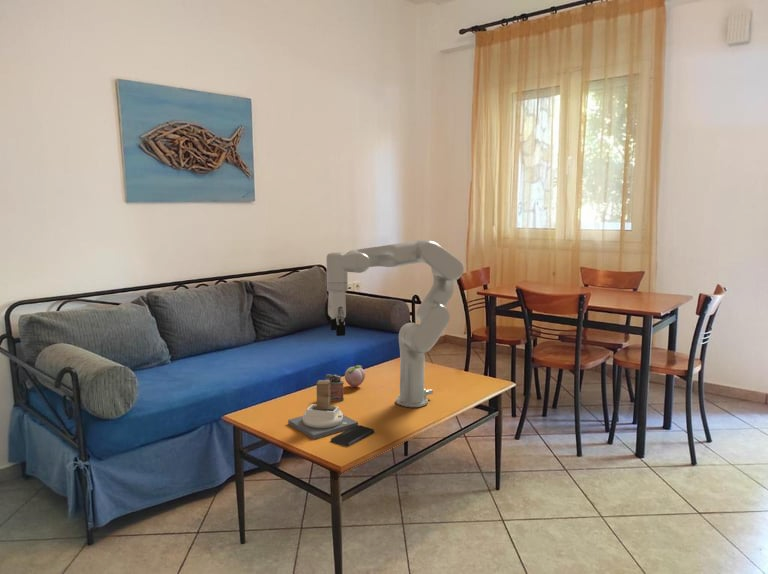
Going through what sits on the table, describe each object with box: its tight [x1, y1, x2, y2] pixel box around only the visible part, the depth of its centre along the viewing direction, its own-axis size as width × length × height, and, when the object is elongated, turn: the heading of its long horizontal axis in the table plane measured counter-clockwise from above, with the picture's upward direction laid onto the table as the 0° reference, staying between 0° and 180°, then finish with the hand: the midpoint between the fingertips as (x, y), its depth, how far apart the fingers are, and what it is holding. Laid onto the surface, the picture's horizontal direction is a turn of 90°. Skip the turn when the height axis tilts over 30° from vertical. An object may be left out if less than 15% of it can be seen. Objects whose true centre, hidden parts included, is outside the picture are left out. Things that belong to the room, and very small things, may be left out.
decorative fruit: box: [344, 364, 366, 388], centre depth 233 cm, size 9×8×10 cm
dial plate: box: [287, 414, 359, 440], centre depth 192 cm, size 18×17×2 cm
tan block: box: [313, 379, 335, 411], centre depth 191 cm, size 4×7×12 cm, turn 85°
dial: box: [302, 403, 344, 428], centre depth 192 cm, size 14×14×4 cm
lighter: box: [325, 373, 345, 402], centre depth 218 cm, size 8×3×10 cm, turn 71°
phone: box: [330, 424, 375, 448], centre depth 183 cm, size 8×1×15 cm
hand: (337, 332), depth 202 cm, fingers open, 9 cm apart
